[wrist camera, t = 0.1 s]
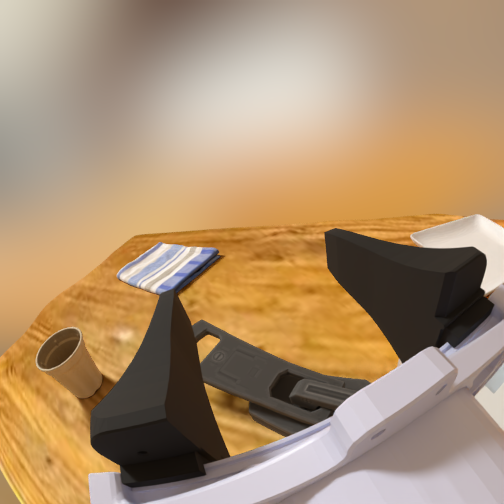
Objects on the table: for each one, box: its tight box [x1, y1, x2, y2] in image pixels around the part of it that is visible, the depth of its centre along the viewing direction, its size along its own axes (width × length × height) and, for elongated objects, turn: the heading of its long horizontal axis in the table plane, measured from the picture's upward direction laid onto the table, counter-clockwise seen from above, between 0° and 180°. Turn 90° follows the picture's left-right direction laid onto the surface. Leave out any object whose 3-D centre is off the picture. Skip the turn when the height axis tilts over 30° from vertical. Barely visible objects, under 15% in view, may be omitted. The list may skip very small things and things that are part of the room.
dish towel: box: [117, 242, 220, 295], centre depth 66 cm, size 17×24×3 cm
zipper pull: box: [192, 320, 371, 437], centre depth 28 cm, size 9×7×25 cm
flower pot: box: [36, 327, 102, 398], centre depth 34 cm, size 9×9×9 cm
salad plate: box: [411, 214, 504, 296], centre depth 38 cm, size 21×21×3 cm
